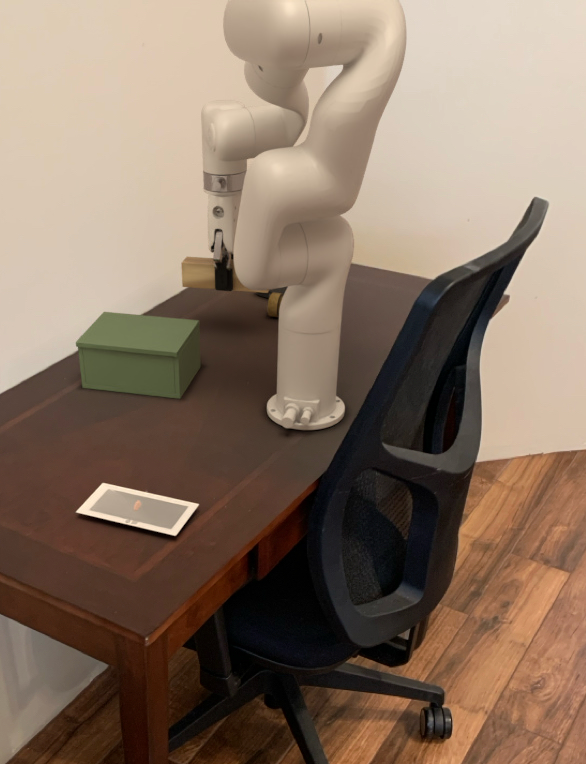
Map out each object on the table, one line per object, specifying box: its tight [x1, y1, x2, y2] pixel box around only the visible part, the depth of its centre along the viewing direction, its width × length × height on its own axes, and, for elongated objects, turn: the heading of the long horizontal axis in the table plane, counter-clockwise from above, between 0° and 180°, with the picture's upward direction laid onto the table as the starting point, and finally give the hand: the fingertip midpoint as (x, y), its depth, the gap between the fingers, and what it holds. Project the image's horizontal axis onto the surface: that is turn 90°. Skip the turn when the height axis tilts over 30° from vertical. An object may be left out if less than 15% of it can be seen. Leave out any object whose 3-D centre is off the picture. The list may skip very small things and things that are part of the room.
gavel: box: [266, 292, 283, 318], centre depth 181 cm, size 21×5×10 cm
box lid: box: [75, 311, 200, 357], centre depth 152 cm, size 13×18×1 cm
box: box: [77, 325, 202, 400], centre depth 155 cm, size 13×18×8 cm
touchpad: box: [75, 482, 200, 537], centre depth 123 cm, size 8×15×2 cm, turn 67°
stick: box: [181, 256, 270, 293], centre depth 163 cm, size 4×16×4 cm, turn 75°
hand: (227, 285), depth 164 cm, fingers closed on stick, 3 cm apart
